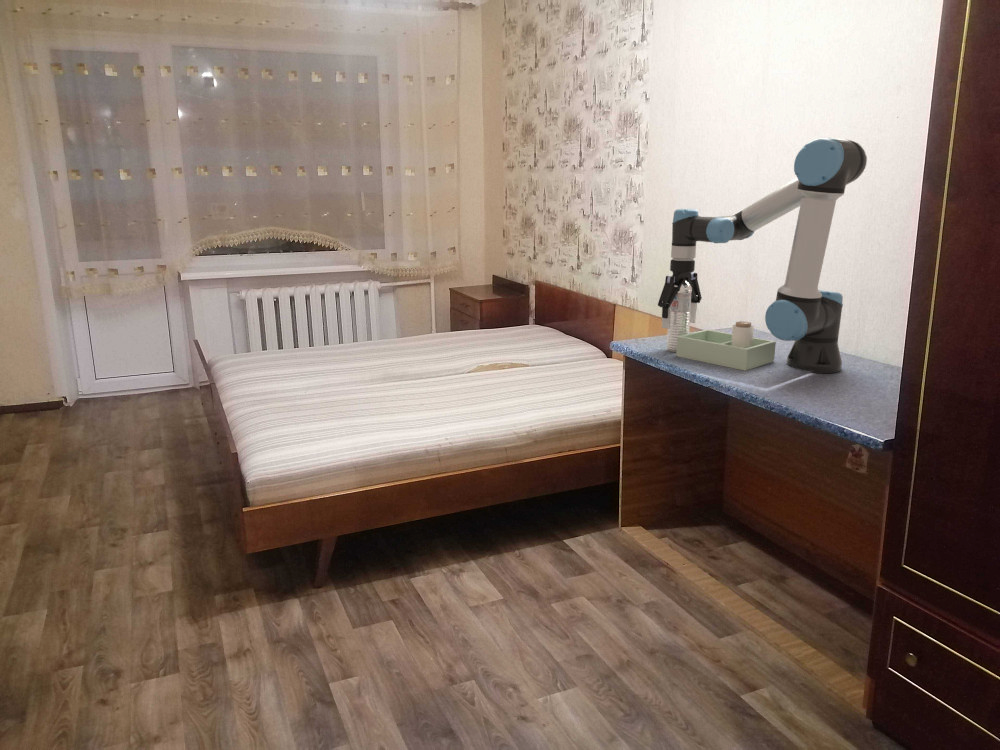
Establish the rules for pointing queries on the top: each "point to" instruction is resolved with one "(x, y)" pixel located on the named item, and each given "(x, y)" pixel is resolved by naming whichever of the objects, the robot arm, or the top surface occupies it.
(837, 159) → the robot arm
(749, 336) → the jar
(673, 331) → the water bottle
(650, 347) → the top surface
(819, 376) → the top surface
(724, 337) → the tote
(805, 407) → the top surface
